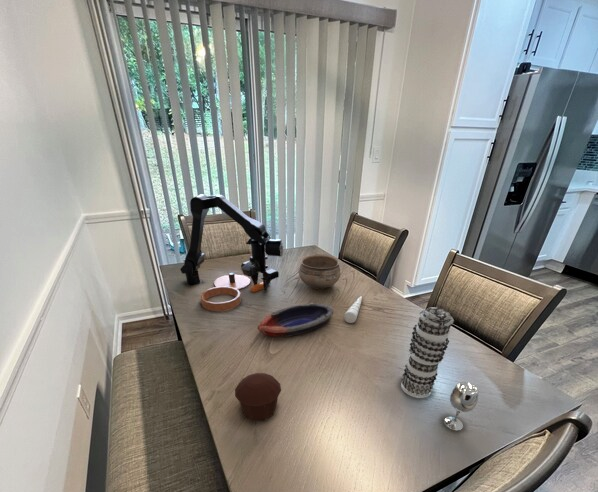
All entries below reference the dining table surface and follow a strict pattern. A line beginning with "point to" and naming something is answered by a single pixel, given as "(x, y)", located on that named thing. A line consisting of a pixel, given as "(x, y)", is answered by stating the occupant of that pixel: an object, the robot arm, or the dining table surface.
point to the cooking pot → (319, 270)
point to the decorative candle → (426, 351)
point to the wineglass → (461, 403)
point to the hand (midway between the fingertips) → (260, 288)
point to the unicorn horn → (353, 311)
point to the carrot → (257, 287)
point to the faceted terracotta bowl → (222, 305)
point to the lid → (232, 281)
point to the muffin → (258, 395)
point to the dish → (295, 320)
